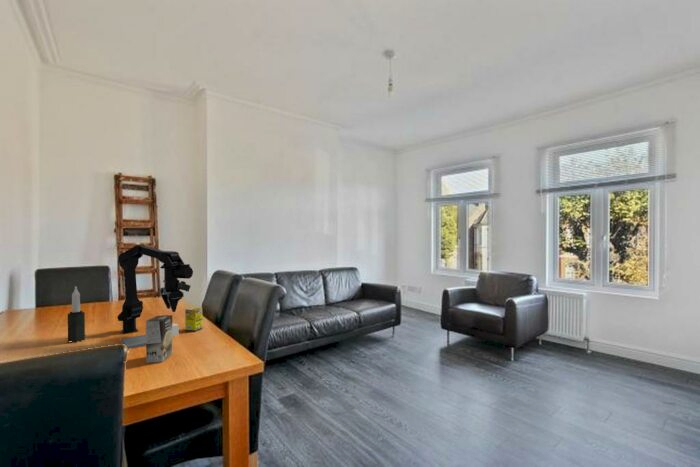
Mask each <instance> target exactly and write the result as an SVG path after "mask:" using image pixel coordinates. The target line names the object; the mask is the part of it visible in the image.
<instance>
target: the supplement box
mask: <svg viewBox="0 0 700 467" xmlns="http://www.w3.org/2000/svg"><path fill="white" fill-rule="evenodd" d="M184 311H185V314H184V315H185V318H184V322H185V323H184V324H185V326H184V328H185V329H184V330H185V332H195V333H196V332H198V331H200V330H203V307H199V306H198V307H197V306H196V307H195V306H192V307H190V308H187V309H186V308H185V310H184Z"/></svg>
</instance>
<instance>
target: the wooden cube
mask: <svg viewBox="0 0 700 467" xmlns="http://www.w3.org/2000/svg"><path fill="white" fill-rule="evenodd" d="M179 327H180V326H179V324H177V322H175V323H174V322H172V338H173V337H178V336H179V335H180V334H179V332H180V331H179V329H180V328H179Z"/></svg>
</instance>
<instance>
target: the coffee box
mask: <svg viewBox="0 0 700 467" xmlns="http://www.w3.org/2000/svg"><path fill="white" fill-rule="evenodd" d="M172 324H173V315H172V314H171V315H169V314H165V315H156V316H154V317H151V318H149V319H148V320H145V335H146V346H145V351H146V352H145V356H146V358H145V359H146V360H145V362H146V363H147V364H149V363H163V362H164V361H165V360H167V359H168V358H170V357H171V356H172V355H173V350H174V349H173V337H172Z"/></svg>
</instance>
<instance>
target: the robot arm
mask: <svg viewBox="0 0 700 467" xmlns="http://www.w3.org/2000/svg"><path fill="white" fill-rule="evenodd" d="M143 256H147V257H151V258H153V259H156V260H158V261H159V262H160V263H162V265H161V266H160V267H159V269H160V270H161V269H163V274H164V275H163V277H164V279H163V280H162V282H163V283H164V284H163V286H164V287H163V286H162V287H161V288H159V290H158V291H159V294H160V297H161V298H162V301H163V304H164V305H165V307H166V309H168V310H169V309H171V311H172V313H175V312H176V311H177V306H178V304H179V301H180V300H181V299H183V298H184V296H185V295H184V292H183V291H185V292H190V289H191V284H187V283H186V281H184V280H185V279H187V280H189V279H191V278H192V277H193V274H194V270H193V268H192V267H191V266H190V263H187V264H185V262H184V261H183V259H182V258H181V256H180V253H179V252H178V251H174V250H173V251H172V250H171V251H170V250H169V251H168V250H161V249H158V248H155V247H151V246H148V245H145V244H136V245H134V246H133V247H131V248H129V249H127V250H126V251H123V252H121V253H120V254H119V255H118V257H117V259H118V264H119V267H120V268H121V269H122V270H123V280H124V292H125V294H124V295H125V296H124V297H125V300H124V302H123V304H122V307H121V308H122V310H121V312H119V314H118V315H117V320H118V322H122V329H120V332H121V333H122V334H129V333H134V332H136V333H137V332H139V330H138V328H137V319H139V318H141V315H142V313H143V309H144V305H143V304H144V302H143V300H140V299H139V298H138V288H137V276H136V269H137V267H138V265H139V262H140V261H139V259H141V258H142V257H143ZM180 279H184V280H181V281H180Z"/></svg>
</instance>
